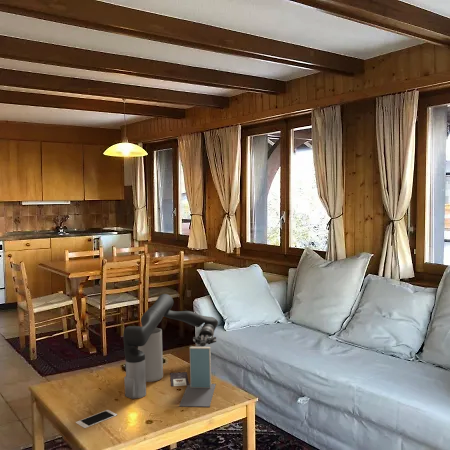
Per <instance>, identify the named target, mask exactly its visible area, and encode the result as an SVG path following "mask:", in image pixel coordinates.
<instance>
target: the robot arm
mask: <svg viewBox="0 0 450 450" xmlns="http://www.w3.org/2000/svg"><path fill="white" fill-rule="evenodd" d="M174 303H175V302H174V299H173V296H171V295H170V294H168V293H162V294H160V295H159V296H158V297H157V299H156V300H155V302H154V303H153V305H151V306H150V307H149V308H148V309H147V310H146V311H145V312H144V313H143V314H142V315H141V318H140V324H141V326H138V325H137V326H135V325H134V326H133V325H132V326H131V325H129V326H128V325H127V326H126V327H125V328H124V330H123V337H122V338H123V350H124V357H125V376H124V378H123V379H124V397H127V398H128V399H130V400H131V399H132V400H135V399H140V398H143V397H145V396H146V395H147V382H146V372H145V354H144V352H142V351H140V350H138V346H144V345H145V344H146V342H147V341H148V339H149V337H150V335H151V333H152V332H153V331H154V329H155V328H158V326H159V325H160V323H161V322H162V320H163V318H164V317H165V318H168V319H171V320H175V321H179V322H180V321H181V322H184V323H186V324H187V325H191V326H193V327H196V328H200V327H201V330H200V331H199V334H198V336H193V337H192V342H193V343H195V344H197V345H199V347H207V346H206V345H211V344H214V343H217V337H216V336H215V331H216V329H217V327H218V326H219V322H218V320H217V318H215V317H214V316H213V317H212V316H209V315H208V316H206V315H201V314H198V313H197V312H195V311H190V310H181V311H177V310H176V311H175V310H171V309H172V307H173V306H174Z"/></svg>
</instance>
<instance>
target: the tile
mask: <svg viewBox="0 0 450 450" xmlns="http://www.w3.org/2000/svg"><path fill="white" fill-rule="evenodd" d="M211 358H212V355H211V346H204V347H201V346H189V366H190V367H189V371H190V372H189V374H190V375H189V376H190V382H189V383H190V384H191V388H211V384H212V365H211V364H212V362H211V361H212V360H211Z"/></svg>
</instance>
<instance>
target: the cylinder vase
mask: <svg viewBox="0 0 450 450" xmlns="http://www.w3.org/2000/svg"><path fill="white" fill-rule="evenodd" d="M137 349H138V350H140V351H142V352H144V354H145V372H146V383H153V382H156V381H159V380H162V378H163V377H164V368H163V367H164V366H163V364H164V362H163V358H164V357H163V329H162V328H158V327H156V328H155V329H154V331H153V332H152V333H151V335H150V337H149V339H148V341H147V342H146V344H145V345H144V346H137Z"/></svg>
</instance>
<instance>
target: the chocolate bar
mask: <svg viewBox="0 0 450 450" xmlns="http://www.w3.org/2000/svg"><path fill="white" fill-rule="evenodd" d="M188 375H189V374H188V371H182V372H179V371H178V372H170V373H169V377H170V387H181V386H182V387H183V386H187V385H189V383H190V382H189V376H188Z"/></svg>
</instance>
